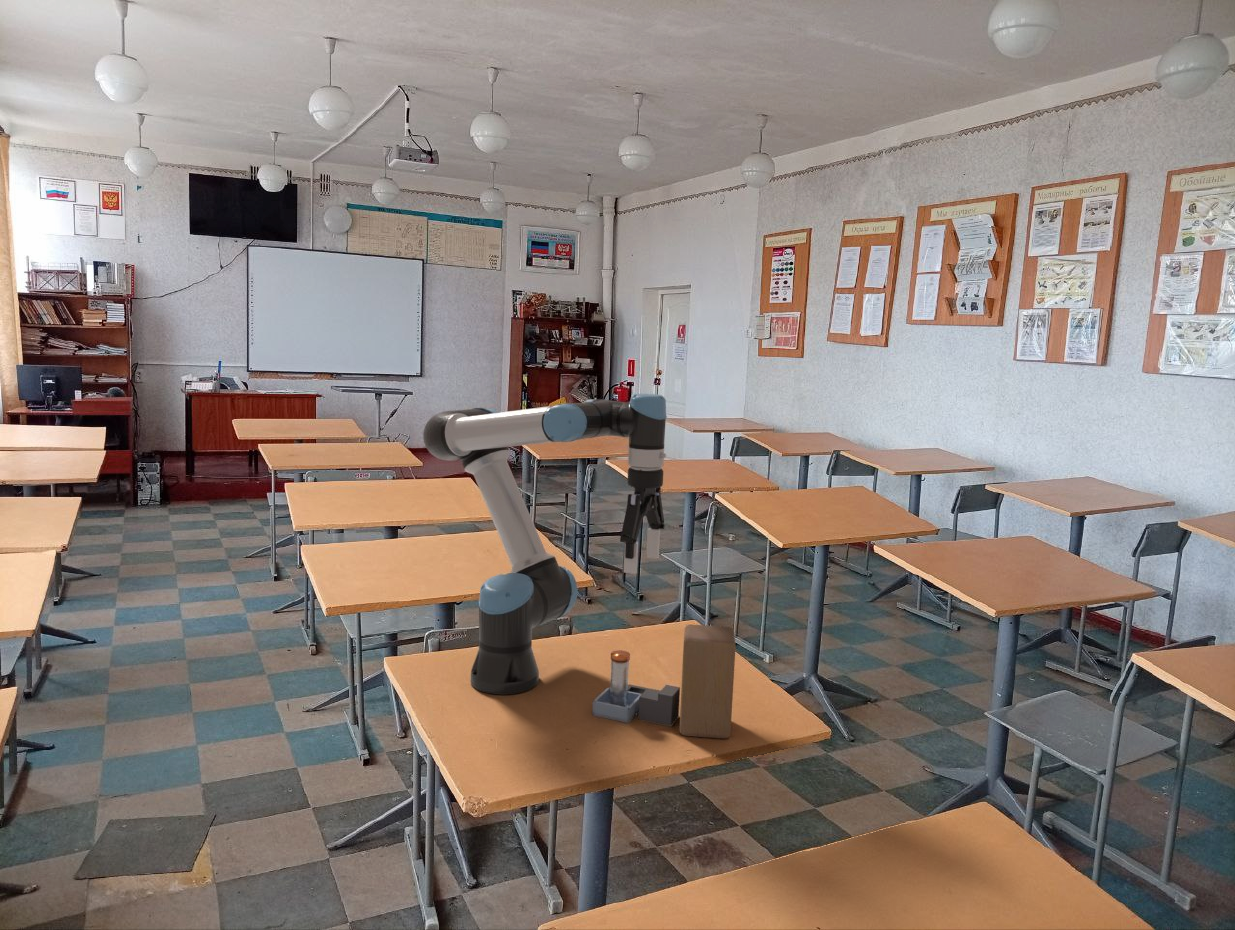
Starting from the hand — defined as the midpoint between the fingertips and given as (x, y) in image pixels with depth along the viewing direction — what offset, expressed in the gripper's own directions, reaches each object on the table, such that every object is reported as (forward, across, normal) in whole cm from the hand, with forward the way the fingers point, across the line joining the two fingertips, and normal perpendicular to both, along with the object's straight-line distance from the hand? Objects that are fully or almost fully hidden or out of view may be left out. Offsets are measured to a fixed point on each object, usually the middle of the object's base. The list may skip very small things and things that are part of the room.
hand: (641, 565), depth 186 cm
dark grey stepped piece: (+29, -10, -9) cm, 32 cm away
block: (+29, -10, -18) cm, 36 cm away
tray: (+29, -11, 0) cm, 31 cm away
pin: (+28, -11, 0) cm, 30 cm away
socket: (+29, -4, -2) cm, 29 cm away
